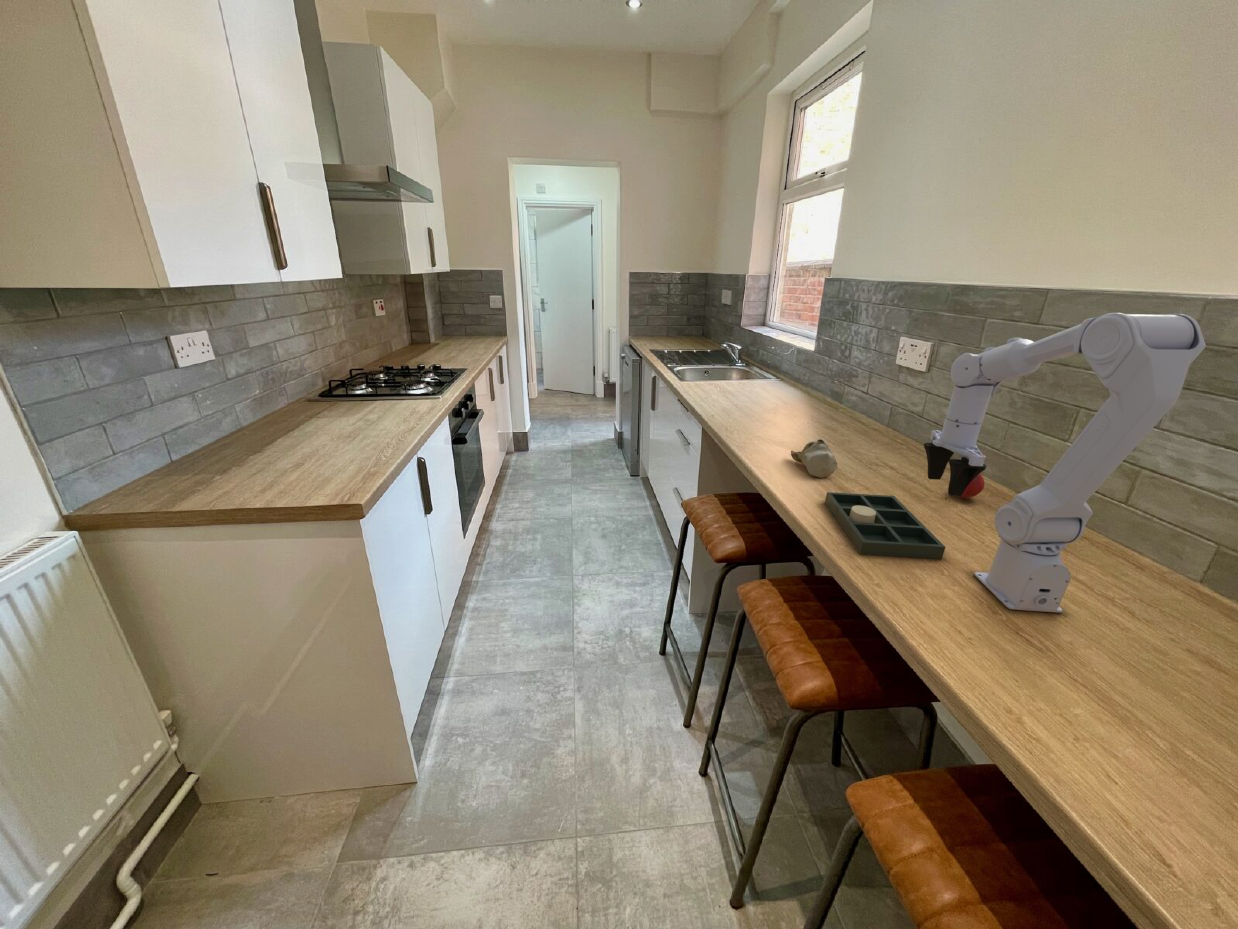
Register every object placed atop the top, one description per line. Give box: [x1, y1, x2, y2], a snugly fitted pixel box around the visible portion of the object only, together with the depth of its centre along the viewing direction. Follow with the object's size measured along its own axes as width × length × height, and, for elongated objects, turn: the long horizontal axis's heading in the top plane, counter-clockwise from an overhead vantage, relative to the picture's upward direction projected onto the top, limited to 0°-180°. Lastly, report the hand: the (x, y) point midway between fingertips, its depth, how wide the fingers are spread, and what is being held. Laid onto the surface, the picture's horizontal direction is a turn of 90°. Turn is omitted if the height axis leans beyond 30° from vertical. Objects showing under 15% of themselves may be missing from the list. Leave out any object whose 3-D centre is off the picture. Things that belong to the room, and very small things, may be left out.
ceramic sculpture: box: [790, 439, 839, 479], centre depth 125 cm, size 11×9×15 cm
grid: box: [824, 491, 946, 560], centre depth 98 cm, size 21×14×3 cm
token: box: [849, 505, 876, 523], centre depth 98 cm, size 4×4×3 cm
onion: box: [960, 473, 985, 499], centre depth 111 cm, size 6×6×8 cm
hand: (943, 486), depth 95 cm, fingers open, 7 cm apart
